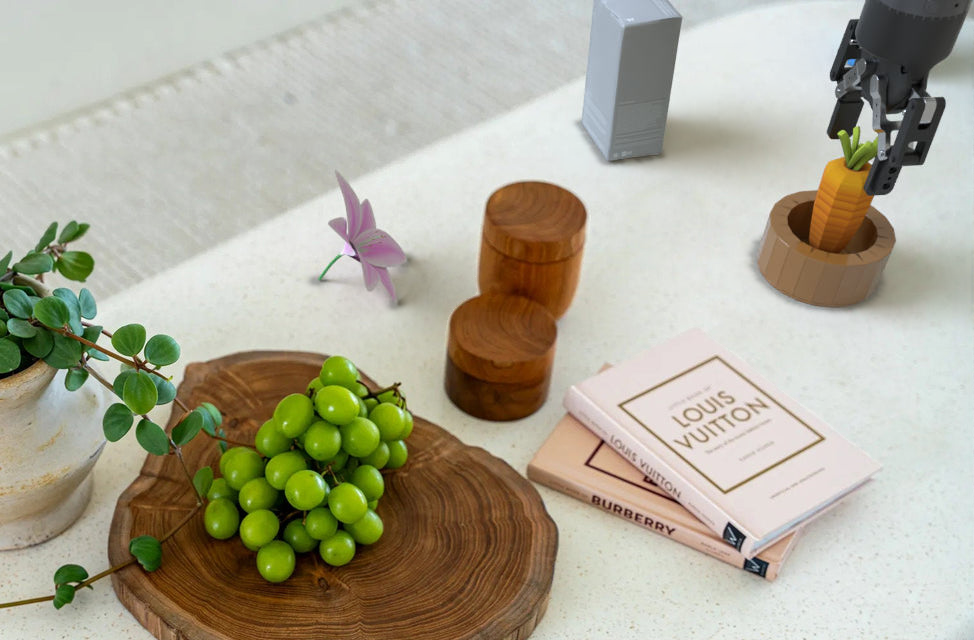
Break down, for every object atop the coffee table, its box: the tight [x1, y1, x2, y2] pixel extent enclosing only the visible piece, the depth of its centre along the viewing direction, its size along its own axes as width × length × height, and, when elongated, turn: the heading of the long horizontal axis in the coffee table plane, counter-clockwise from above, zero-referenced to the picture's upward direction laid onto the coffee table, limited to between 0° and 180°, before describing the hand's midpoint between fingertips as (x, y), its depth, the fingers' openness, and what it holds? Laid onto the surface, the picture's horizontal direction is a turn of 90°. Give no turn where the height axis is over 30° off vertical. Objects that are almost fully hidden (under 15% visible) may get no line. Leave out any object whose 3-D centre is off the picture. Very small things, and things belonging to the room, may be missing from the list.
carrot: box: [809, 125, 878, 254], centre depth 104 cm, size 5×5×15 cm
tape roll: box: [756, 189, 897, 308], centre depth 108 cm, size 11×11×5 cm
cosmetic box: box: [580, 0, 683, 162], centre depth 119 cm, size 8×7×16 cm
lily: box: [317, 169, 408, 304], centre depth 105 cm, size 12×12×10 cm
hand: (856, 164), depth 101 cm, fingers open, 8 cm apart
